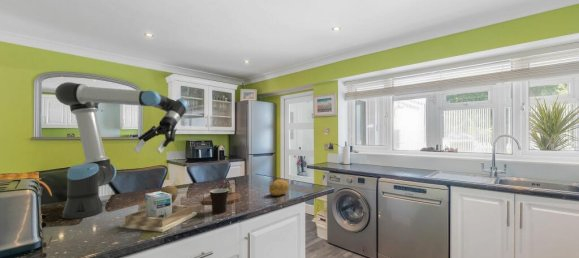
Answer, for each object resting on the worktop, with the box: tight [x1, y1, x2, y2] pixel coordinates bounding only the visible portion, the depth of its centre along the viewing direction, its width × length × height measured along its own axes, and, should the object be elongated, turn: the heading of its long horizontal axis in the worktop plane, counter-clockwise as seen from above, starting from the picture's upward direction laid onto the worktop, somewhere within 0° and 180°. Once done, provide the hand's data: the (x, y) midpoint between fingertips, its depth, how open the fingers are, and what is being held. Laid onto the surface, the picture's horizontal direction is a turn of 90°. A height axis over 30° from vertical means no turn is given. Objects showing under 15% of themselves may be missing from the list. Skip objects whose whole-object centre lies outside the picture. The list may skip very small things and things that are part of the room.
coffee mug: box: [209, 188, 229, 214], centre depth 124 cm, size 12×9×10 cm
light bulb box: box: [145, 190, 173, 218], centre depth 110 cm, size 11×7×11 cm, turn 52°
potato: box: [268, 178, 289, 197], centre depth 154 cm, size 10×13×9 cm
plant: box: [202, 179, 242, 206], centre depth 144 cm, size 20×20×11 cm
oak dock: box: [119, 204, 198, 233], centre depth 111 cm, size 21×21×4 cm
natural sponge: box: [160, 184, 179, 204], centre depth 137 cm, size 9×9×10 cm
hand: (147, 151), depth 121 cm, fingers open, 13 cm apart
